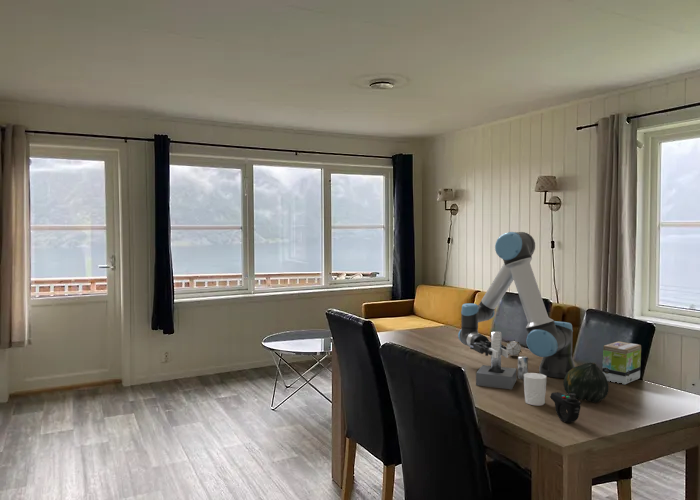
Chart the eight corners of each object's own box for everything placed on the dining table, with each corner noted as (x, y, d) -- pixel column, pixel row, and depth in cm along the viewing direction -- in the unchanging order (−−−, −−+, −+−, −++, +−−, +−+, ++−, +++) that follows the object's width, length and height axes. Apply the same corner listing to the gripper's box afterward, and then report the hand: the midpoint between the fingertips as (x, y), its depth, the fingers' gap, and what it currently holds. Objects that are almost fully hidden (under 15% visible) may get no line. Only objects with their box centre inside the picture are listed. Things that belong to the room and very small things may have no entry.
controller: (571, 428, 169) (571, 397, 169) (548, 414, 181) (548, 385, 181) (583, 426, 170) (583, 396, 170) (559, 413, 182) (559, 385, 182)
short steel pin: (528, 377, 227) (528, 356, 226) (527, 379, 223) (527, 358, 223) (518, 376, 228) (518, 355, 228) (517, 378, 225) (517, 357, 224)
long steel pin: (501, 374, 220) (502, 331, 219) (499, 377, 216) (500, 333, 216) (491, 373, 222) (492, 331, 221) (489, 376, 218) (490, 332, 217)
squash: (556, 377, 207) (567, 354, 197) (595, 379, 207) (608, 356, 196) (565, 410, 197) (577, 388, 187) (606, 412, 197) (620, 390, 186)
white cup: (547, 406, 189) (548, 379, 189) (524, 405, 191) (525, 378, 190) (544, 400, 197) (544, 373, 196) (522, 398, 198) (522, 372, 198)
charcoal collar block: (516, 380, 222) (516, 368, 222) (511, 389, 210) (511, 376, 210) (482, 376, 228) (482, 364, 228) (475, 385, 216) (476, 373, 215)
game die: (510, 364, 263) (499, 348, 262) (512, 354, 271) (501, 339, 269) (526, 357, 259) (515, 341, 258) (527, 348, 266) (516, 332, 265)
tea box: (626, 385, 215) (627, 349, 214) (601, 380, 223) (601, 345, 222) (640, 378, 225) (641, 344, 224) (616, 373, 232) (617, 340, 232)
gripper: (495, 349, 238) (521, 363, 215) (459, 351, 235) (482, 364, 212) (496, 333, 238) (521, 344, 215) (460, 334, 235) (482, 346, 212)
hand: (502, 354), depth 213 cm, fingers closed on long steel pin, 4 cm apart
